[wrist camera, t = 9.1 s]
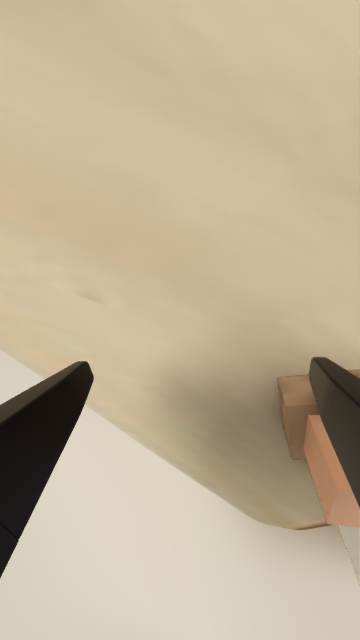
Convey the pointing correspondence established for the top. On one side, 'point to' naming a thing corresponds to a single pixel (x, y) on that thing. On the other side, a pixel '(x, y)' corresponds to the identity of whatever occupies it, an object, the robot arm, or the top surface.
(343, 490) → the terracotta cube
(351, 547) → the milk carton
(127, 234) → the top surface
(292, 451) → the walnut block
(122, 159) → the top surface
